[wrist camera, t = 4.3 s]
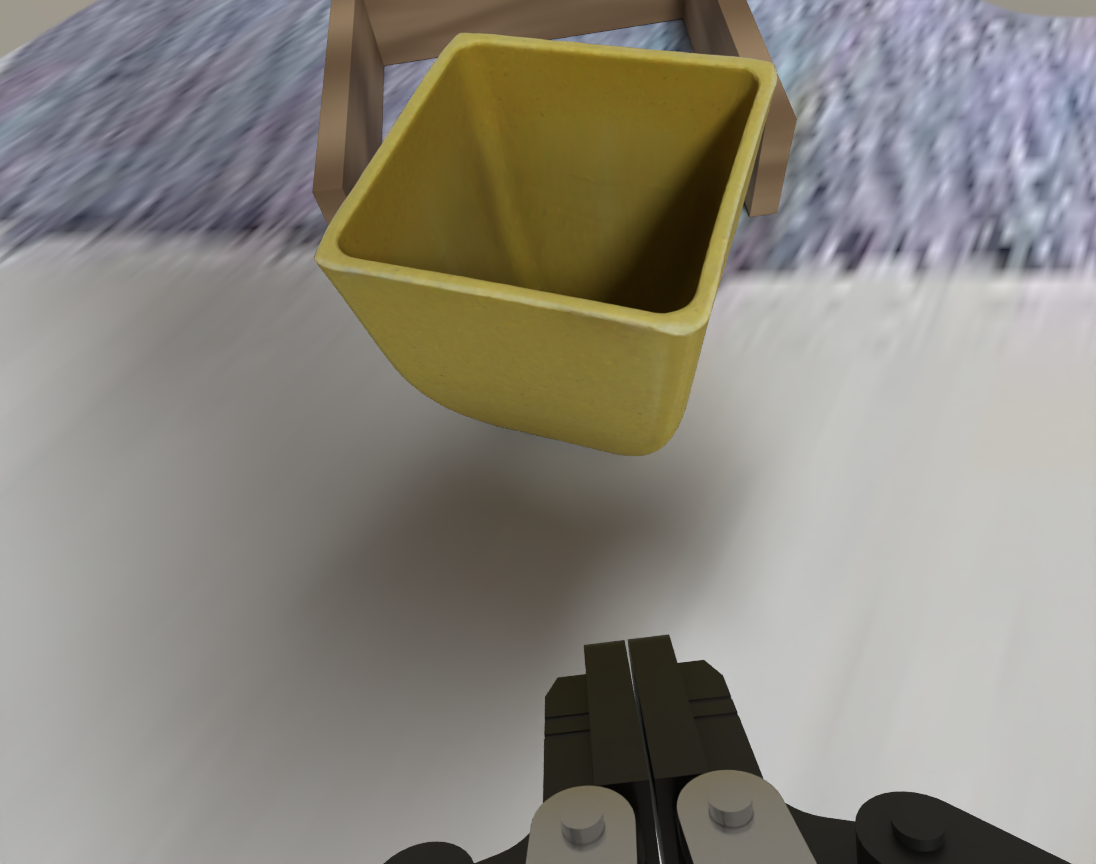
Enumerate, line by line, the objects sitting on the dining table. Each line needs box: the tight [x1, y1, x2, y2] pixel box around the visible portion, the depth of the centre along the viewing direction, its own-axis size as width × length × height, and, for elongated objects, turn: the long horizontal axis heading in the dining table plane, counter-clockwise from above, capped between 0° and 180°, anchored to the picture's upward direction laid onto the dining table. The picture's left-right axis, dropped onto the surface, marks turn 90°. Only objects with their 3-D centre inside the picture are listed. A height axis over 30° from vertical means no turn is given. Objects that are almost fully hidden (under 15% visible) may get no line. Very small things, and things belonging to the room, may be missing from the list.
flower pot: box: [314, 33, 777, 456], centre depth 21 cm, size 9×9×9 cm
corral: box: [313, 0, 797, 226], centre depth 30 cm, size 14×16×4 cm
